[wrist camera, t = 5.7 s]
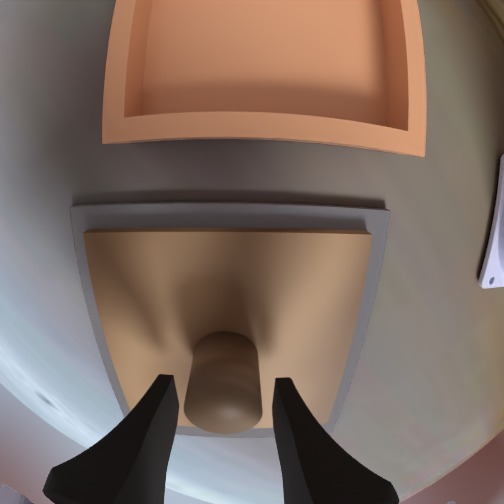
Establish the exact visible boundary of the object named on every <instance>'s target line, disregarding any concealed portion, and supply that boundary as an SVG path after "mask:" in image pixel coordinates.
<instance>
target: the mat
mask: <svg viewBox="0 0 504 504" xmlns="http://www.w3.org/2000/svg"><path fill="white" fill-rule="evenodd" d="M70 215H71V223H72V231H73V238H74V244H75V251H76V257H77V262H78V268H79V273H80V278H81V283H82V287H83V292H84V296H85V300H86V304H87V308H88V312H89V316H90V320H91V324H92V327H93V331H94V334H95V338H96V341H97V344H98V347H99V351H100V354H101V357H102V360H103V363H104V366H105V369H106V372H107V374H108V377H109V380H110V383H111V385H112V388H113V390H114V393H115V396H116V398H117V401H118V403H119V405H120V408H121V410H122V413H123V415H124V417H126V416H127V415H128V413H129V412H130V408H129V406H128V403H127V401H126V398H125V396H124V393H123V390H122V388H121V385H120V382H119V379H118V376H117V374H116V371H115V368H114V365H113V362H112V359H111V355H110V352H109V349H108V346H107V342H106V339H105V335H104V332H103V328H102V324H101V321H100V317H99V313H98V309H97V305H96V301H95V296H94V292H93V287H92V282H91V277H90V272H89V267H88V262H87V256H86V250H85V243H84V237H83V233H84V232H85V231H87V230H88V229H108V228H291V229H333V230H365V231H368V232H370V233H371V234H372V242H371V249H370V255H369V261H368V267H367V273H366V278H365V284H364V289H363V294H362V299H361V304H360V308H359V313H358V318H357V322H356V326H355V331H354V335H353V339H352V343H351V347H350V351H349V354H348V358H347V362H346V365H345V369H344V373H343V376H342V379H341V383H340V386H339V390H338V393H337V396H336V399H335V402H334V405H333V408H332V411H331V414H330V417H329V420H328V423H325V424H320V425H321V426H322V427H323V428H324V430H325V431H326V432H327V433H328V432H333V430H334V428H335V425H336V422H337V420H338V417H339V415H340V412H341V409H342V407H343V404H344V401H345V398H346V396H347V393H348V390H349V387H350V384H351V381H352V378H353V375H354V372H355V369H356V366H357V362H358V359H359V356H360V352H361V349H362V346H363V342H364V339H365V335H366V331H367V327H368V324H369V320H370V316H371V312H372V308H373V304H374V299H375V295H376V290H377V286H378V281H379V276H380V271H381V266H382V261H383V256H384V250H385V244H386V238H387V232H388V225H389V218H390V210H388V209H381V208H367V207H353V206H337V205H319V204H297V203H269V202H134V203H107V204H86V205H73V206H71V207H70ZM175 434H179V435H190V436H203V437H226V438H263V437H275V434H274V429H273V428H251V429H249V430H247V431H244V432H240V433H235V434H218V433H212V432H208V431H205V430H203V429H200V428H198V427H191V426H179V425H177V428H176V432H175Z"/></svg>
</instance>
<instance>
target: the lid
mask: <svg viewBox="0 0 504 504" xmlns="http://www.w3.org/2000/svg"><path fill="white" fill-rule="evenodd" d="M83 237H84V243H85V250H86V256H87V262H88V267H89V272H90V277H91V282H92V287H93V292H94V296H95V301H96V305H97V309H98V313H99V317H100V321H101V324H102V328H103V332H104V335H105V339H106V342H107V346H108V349H109V352H110V355H111V359H112V362H113V365H114V368H115V371H116V374H117V376H118V379H119V382H120V385H121V388H122V390H123V393H124V396H125V398H126V401H127V403H128V406H129V408H130V411H131V410H132V409H133V408H134V407H135V405H136V404H137V403H138V402H139V401H140V399H141V398H142V397H143V396H144V394H145V393H146V392H147V390H148V389H149V387H150V386H151V385H152V383H153V382H154V380H155V379H156V377H157V376H158V375H159V374H167V375H174V380H175V385H176V390H177V395H178V400H179V415H178V423H177V425H179V426H191V427H198V428H200V429H203V430H205V431H208V432H212V433H218V434H235V433H240V432H244V431H247V430H249V429H251V428H273V417H272V402H273V394H274V385H275V378H282V377H290V378H291V379H292V380H293V383H294V385H295V387H296V388H297V390H298V392H299V394H300V396H301V397H302V399H303V401H304V402H305V404H306V405H307V407H308V408H309V410H310V411H311V413H312V414H313V416H314V417H315V418H316V420H317V421H318V422H319V423H320V424H325V423H328V420H329V417H330V414H331V411H332V408H333V405H334V402H335V399H336V396H337V393H338V390H339V386H340V383H341V379H342V376H343V373H344V369H345V365H346V362H347V358H348V354H349V351H350V347H351V343H352V339H353V335H354V331H355V326H356V322H357V318H358V313H359V308H360V304H361V299H362V294H363V289H364V284H365V278H366V273H367V267H368V261H369V255H370V249H371V242H372V234H371V233H370V232H368V231H365V230H333V229H291V228H108V229H88V230H87V231H85V232H84V233H83Z"/></svg>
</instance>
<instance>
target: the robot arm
mask: <svg viewBox="0 0 504 504" xmlns="http://www.w3.org/2000/svg"><path fill="white" fill-rule="evenodd" d="M479 285H480V286H481V287H482V288H494V287H503V286H504V154H503V155H502V157H501V160H500V172H499V182H498V191H497V199H496V205H495V212H494V218H493V223H492V228H491V233H490V238H489V243H488V247H487V251H486V255H485V259H484V263H483V267H482V270H481V274H480V277H479ZM178 415H179V400H178V395H177V390H176V385H175V380H174V375H167V374H159V375H158V376H157V377H156V379H155V380H154V382H153V383H152V385H151V386H150V387H149V389H148V390H147V392H146V393H145V394H144V396H143V397H142V398H141V399H140V401H139V402H138V403H137V404H136V405H135V407H134V408H133V409H132V410H131V411H130V412H129V413H128V415H127V416H126V417H125V418H124V419H123V420H122V421H121V422H120V423H119V424H118V425H117V426H116V427H115V428H114V429H113V430H112V431H111V432H109V433H108V434H107V435H106V436H105V437H103V438H102V439H101V440H100V441H98V442H97V443H96V444H94V445H93V446H92V447H90V448H89V449H87V450H85V451H84V452H82V453H81V454H79V455H77V456H76V457H74V458H72V459H70V460H68V461H66V462H64V463H62V464H60V465H58V466H55V467H53V468H52V469H51V471H50V473H49V475H48V477H47V480H46V483H45V485H44V488H43V492H44V494H45V496H46V497H47V498H49V499H50V500H51V501H52V502H53V503H55V504H164V493H165V481H166V472H167V466H168V461H169V457H170V453H171V449H172V445H173V441H174V436H175V432H176V428H177V423H178ZM272 417H273V429H274V434H275V439H276V444H277V449H278V455H279V460H280V465H281V470H282V478H283V490H284V504H398V503H399V498H398V495H397V493H396V491H395V489H394V487H393V485H392V484H391V482H389V481H387V480H385V479H384V478H382V477H380V476H378V475H377V474H375V473H374V472H372V471H370V470H369V469H368V468H366V467H365V466H363V465H362V464H361V463H359V462H358V461H357V460H355V459H354V458H353V457H352V456H351V455H349V454H348V453H347V452H346V451H345V450H344V449H343V448H341V447H340V446H339V445H338V444H337V443H336V442H335V441H334V440H333V439H332V438H331V436H330V435H329V434H328V433H327V432H326V431H325V430H324V428H323V427H322V426H321V425H320V423H319V422H318V421H317V420H316V418H315V417H314V416H313V414H312V413H311V411H310V410H309V408H308V407H307V405H306V404H305V402H304V401H303V399H302V397H301V396H300V394H299V392H298V390H297V388H296V387H295V385H294V383H293V380H292V379H291V378H290V377H282V378H275V385H274V394H273V402H272ZM0 504H34V503H32V501H30V500H29V499H28V498H26V497H25V496H23V495H22V494H21V493H19V492H17V491H15V490H14V489H12V488H10V487H9V486H7V485H5V484H2V487H1V489H0ZM446 504H456V503H455V501H454V500H451V501H449V502H448V503H446Z"/></svg>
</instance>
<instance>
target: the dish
mask: <svg viewBox="0 0 504 504" xmlns="http://www.w3.org/2000/svg"><path fill="white" fill-rule="evenodd" d="M206 139H237V140H270V141H288V142H303V143H315V144H326V145H335V146H344V147H352V148H360V149H367V150H374V151H381V152H387V153H394V154H403V155H412V156H420V157H425V142H426V75H425V60H424V48H423V39H422V31H421V23H420V17H419V10H418V5H417V0H116V3H115V8H114V13H113V19H112V24H111V30H110V37H109V44H108V52H107V60H106V70H105V81H104V95H103V116H102V144H125V143H141V142H155V141H173V140H206Z"/></svg>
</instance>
